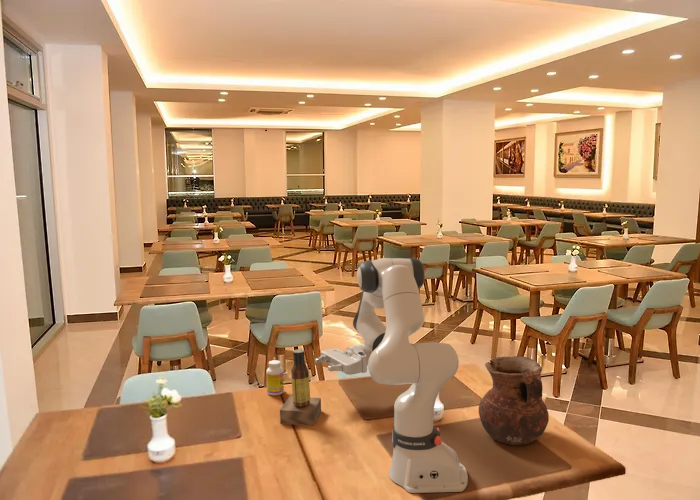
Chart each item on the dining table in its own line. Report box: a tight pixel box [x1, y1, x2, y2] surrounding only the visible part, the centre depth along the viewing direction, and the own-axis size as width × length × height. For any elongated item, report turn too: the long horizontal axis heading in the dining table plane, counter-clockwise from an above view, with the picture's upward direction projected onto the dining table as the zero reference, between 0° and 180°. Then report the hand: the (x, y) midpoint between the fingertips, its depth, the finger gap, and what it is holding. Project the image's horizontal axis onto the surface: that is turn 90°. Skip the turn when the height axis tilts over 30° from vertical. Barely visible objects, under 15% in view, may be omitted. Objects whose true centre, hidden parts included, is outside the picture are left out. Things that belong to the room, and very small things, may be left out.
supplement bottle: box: [265, 359, 285, 396], centre depth 216 cm, size 7×7×13 cm
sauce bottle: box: [291, 348, 311, 407], centre depth 192 cm, size 7×6×20 cm
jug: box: [478, 355, 550, 447], centre depth 176 cm, size 22×21×25 cm
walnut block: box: [279, 395, 322, 427], centre depth 194 cm, size 12×12×5 cm
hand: (322, 365), depth 197 cm, fingers open, 8 cm apart
